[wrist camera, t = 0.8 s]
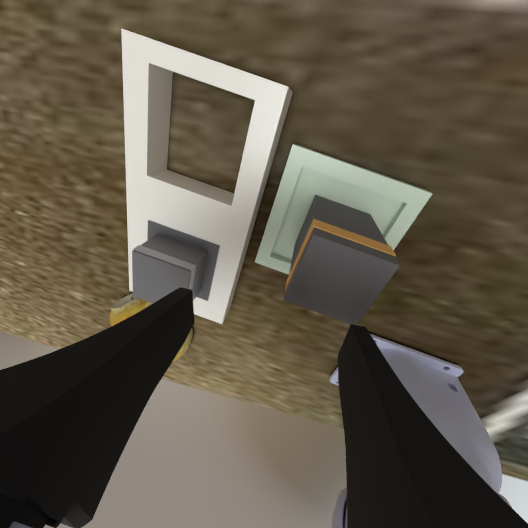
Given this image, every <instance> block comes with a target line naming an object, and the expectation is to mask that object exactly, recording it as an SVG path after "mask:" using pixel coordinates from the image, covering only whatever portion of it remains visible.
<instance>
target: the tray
mask: <svg viewBox="0 0 528 528" xmlns="http://www.w3.org/2000/svg"><path fill="white" fill-rule="evenodd" d="M432 194H433V193H431V192H429V191H428V190H426V189H423V188H420V187H417V186H414V185H411V184H409V183H406V182H403V181H400V180H397V179H394V178H392V177H389V176H386V175H383V174H380V173H377V172H375V171H372V170H369V169H366V168H363V167H360V166H358V165H355V164H352V163H349V162H346V161H343V160H340V159H338V158H335V157H332V156H329V155H326V154H323V153H321V152H318V151H315V150H312V149H309V148H306V147H304V146H301V145H298V144H295V143H294V144H293V145H292V148H291V151H290V154H289V157H288V160H287V164H286V167H285V170H284V173H283V176H282V179H281V182H280V185H279V188H278V191H277V195H276V198H275V201H274V204H273V207H272V210H271V213H270V216H269V219H268V222H267V226H266V229H265V232H264V235H263V238H262V241H261V244H260V247H259V250H258V254H257V257H256V260H255V263H258V264H261V265H264V266H266V267H269V268H272V269H275V270H277V271H280V272H283V273H286V274H288V275H289V272H290V267H291V261H292V256H293V251H294V246H295V242H296V240H297V237H298V235H299V233H300V230H301V228H302V225H303V223H304V221H305V218H306V216H307V213H308V211H309V208H310V206H311V204H312V201H313V199H314V196H315V195H318V196H321V197H324V198H326V199H329V200H332V201H335V202H338V203H341V204H343V205H346V206H349V207H352V208H355V209H357V210H360V211H363V212H366V213H369V214H371V216H372V218H373V219H374V221H375V223H376V225H377V226H378V228H379V230H380V232H381V233H382V235H383V237H384V238H385V240H386V242H387V244H388V245H389V246H391V247H392V249H393V250H394V249H395V248H396V246H397V245H398V243H399V242H400V240H401V239H402V237H403V236H404V235H405V233H406V232H407V230H408V229H409V227H410V226H411V224H412V223H413V221H414V220H415V219H416V217H417V216H418V214H419V213H420V211H421V210H422V208H423V207H424V205H425V204H426V203H427V201H428V200H429V198H430V197H431V195H432Z"/></svg>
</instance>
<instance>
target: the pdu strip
mask: <svg viewBox="0 0 528 528" xmlns="http://www.w3.org/2000/svg"><path fill="white" fill-rule="evenodd" d="M122 61H123V94H124V126H125V159H126V191H127V224H128V256H129V289H130V291H133V296H135V297H137V298H140V299H143V300H145V301H148V302H151V303H155V302H156V301H158V300H159V299H161V298H163V297H164V296H166V295H168V294H169V293H171V292H173V291H174V290H176V289H178V288H180V287H181V288H186V289H191V290H192V293H193V308H194V314H196V315H198V316H201V317H204V318H207V319H209V320H212V321H215V322H218V323H220V324H222V323H223V321H224V319H225V317H226V315H227V313H228V311H229V309H230V307H231V303H232V300H233V296H234V293H235V290H236V286H237V283H238V279H239V276H240V272H241V269H242V265H243V262H244V259H245V255H246V252H247V248H248V245H249V241H250V238H251V235H252V231H253V228H254V224H255V221H256V217H257V214H258V210H259V207H260V204H261V200H262V197H263V193H264V190H265V186H266V183H267V180H268V176H269V173H270V169H271V166H272V162H273V159H274V155H275V152H276V149H277V145H278V142H279V138H280V135H281V131H282V128H283V125H284V121H285V118H286V114H287V111H288V107H289V104H290V100H291V97H292V94H293V92H292V91H291V89H290V88H289V87H288V86H285V85H282V84H279V83H276V82H273V81H270V80H268V79H265V78H262V77H259V76H256V75H253V74H250V73H247V72H245V71H242V70H239V69H236V68H233V67H230V66H227V65H225V64H222V63H219V62H216V61H213V60H210V59H207V58H204V57H202V56H199V55H196V54H193V53H190V52H187V51H184V50H181V49H179V48H176V47H173V46H170V45H167V44H164V43H161V42H159V41H156V40H153V39H150V38H147V37H144V36H141V35H138V34H136V33H133V32H130V31H127V30H124V29H122ZM173 72H175V73H178V74H181V75H184V76H187V77H190V78H193V79H195V80H198V81H201V82H204V83H207V84H210V85H213V86H215V87H218V88H221V89H224V90H227V91H230V92H233V93H235V94H238V95H241V96H244V97H247V98H250V99H253V100H255V103H254V108H253V112H252V117H251V121H250V125H249V130H248V134H247V139H246V143H245V148H244V152H243V157H242V161H241V166H240V170H239V175H238V179H237V184H236V188H235V193H231V192H228V191H226V190H223V189H220V188H217V187H214V186H212V185H209V184H206V183H203V182H200V181H198V180H195V179H192V178H189V177H186V176H184V175H181V174H178V173H175V172H172V171H170V170H167V162H168V146H169V130H170V113H171V97H172V81H173Z"/></svg>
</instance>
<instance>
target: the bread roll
mask: <svg viewBox="0 0 528 528" xmlns="http://www.w3.org/2000/svg"><path fill="white" fill-rule="evenodd" d="M151 304H153V303H151V302H148V301H145V300H143V299H140V298H137V297H135V296H133V293H132V294H129V295H128V296H125V297H123V298H121V299H120V300H119V301H117V302H116V303H115V304H114V305H112V311H111V314H110V323H111V327H112V326H114V325H115V324H117V323H119V322H121V321H123V320H125V319H127V318H128V317H130V316H132V315H134V314H136V313H138V312H139V311H141V310H143V309H144V308H146V307H148V306H149V305H151ZM192 336H193V331H192V328H191V330H190V333H189V335H188V337H187V339H186V341H185V342H184V344H183V346H182V347H181V349H180V350H179V352H178V354H177V355H176V357H175V358H174V360H173V361H175V360H177V359H179V358H180V357H181V356H182V355H183V354H184V353H185V352H186V350H187V349H188V347H189V345H190V343H191V340H192ZM173 361H172V362H173Z"/></svg>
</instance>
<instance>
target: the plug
mask: <svg viewBox="0 0 528 528" xmlns="http://www.w3.org/2000/svg"><path fill="white" fill-rule="evenodd" d="M395 256H396V254H395V253H394V251H393V249H392V247H391V246H389V245H388V244H387V242H386V240H385V238H384V237H383V235H382V233H381V232H380V230H379V228H378V226H377V225H376V223H375V221H374V219H373V218H372V216H371V214H369V213H366V212H363V211H360V210H357V209H355V208H352V207H349V206H346V205H343V204H341V203H338V202H335V201H332V200H329V199H326V198H324V197H321V196H318V195H315V196H314V199H313V201H312V204H311V206H310V208H309V211H308V213H307V216H306V218H305V221H304V223H303V225H302V228H301V230H300V233H299V235H298V237H297V240H296V242H295V246H294V251H293V256H292V261H291V267H290V272H289V276H288V279H287V282H286V287H285V291H286V292H285V297H284V300H285V301H288V302H291V303H294V304H296V305H299V306H302V307H305V308H307V309H310V310H313V311H316V312H318V313H321V314H324V315H327V316H329V317H332V318H335V319H338V320H340V321H343V322H346V323H349V324H353V325H357V323H358V322H359V321H360V319H361V318H362V317H363V315H364V314H365V313H366V311H367V310H368V309H369V307H370V306H371V304H372V303H373V302H374V300H375V299H376V298H377V296H378V295H379V294H380V292H381V291H382V290H383V288H384V287H385V285H386V284H387V283H388V281H389V280H390V279H391V277H392V276H393V275H394V273H395V272H396V271H397V269H398V268H399V266H400V264H399V263H398V261H397V259H396V257H395Z"/></svg>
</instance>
